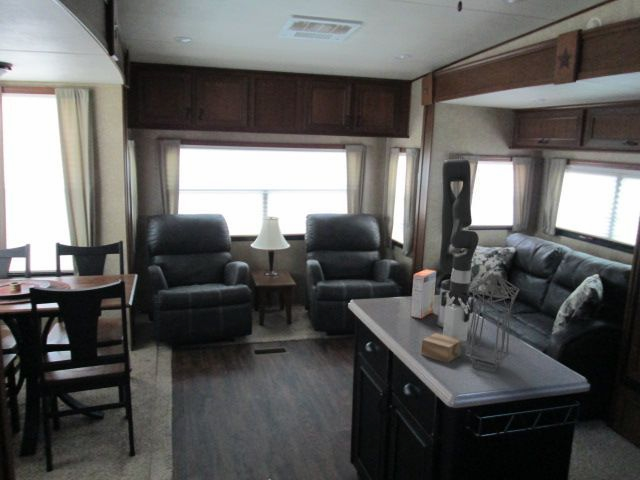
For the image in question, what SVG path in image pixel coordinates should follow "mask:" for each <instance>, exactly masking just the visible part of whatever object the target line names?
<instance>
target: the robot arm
mask: <svg viewBox="0 0 640 480" xmlns="http://www.w3.org/2000/svg"><path fill="white" fill-rule="evenodd" d="M471 171H472V169H471V163H470V161H469V160H468V159H465V158H459V159H458V158H457V159H446V160H444V161H443V164H442V171H441V173H442V175H441V176H442V205H441V206H442V209H441V210H442V211H441V239H440V240H441V242H440V243H441V244H440V252H439V253H440V254H439V264H438V265H439V270H440V272H442V273H444V274H450V275H451V276H450V279H445V280H442V281H441V283H440V288H439V289H440V291H439V301H438V303H439V304H438V311H437V312H438V313H437V320H436V321H437V322H436V323H437V324H436V325H437V326H439V327H440V328H443V329H444V317H445V306H446V305H451V304H457V305H459V306H462V308H463V309H464V311H465V316H464V322H467V321H470V316H471V314H473V312H474V310H473V297H472V296H471V297H470V290H469V289H470V288H471V276H472V275H471V274H472V273H471V271H472V270H471V269H472V260H473V258H474V255H475V252H476V249H477V247H478V244H479V238H480V237H479V234H478V233H477V232H476V231H475V230H463V229H464V228H468V227H470V226H471V225H472V223H473V221H472V220H473V218H472V211H471V190H472V189H471V185H472V184H471V182H472V181H471V180H472V178H471V177H472V175H471V174H472V172H471ZM452 182H453V183H454V182H455V183H456V182H459V183H460V182H461V183H462V187H461V189H460V192H459V193H458V195H457V196H456V195H455V193H454V191H453V189H452V186H451V184H452ZM451 246H452V248H455V249H465V251H463V252H459V253H456V252H455V253H453V252H450V247H451ZM468 302H469V303H470V305H469V303H468ZM476 306H477V297H475V307H476ZM469 307H470V308H469Z"/></svg>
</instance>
